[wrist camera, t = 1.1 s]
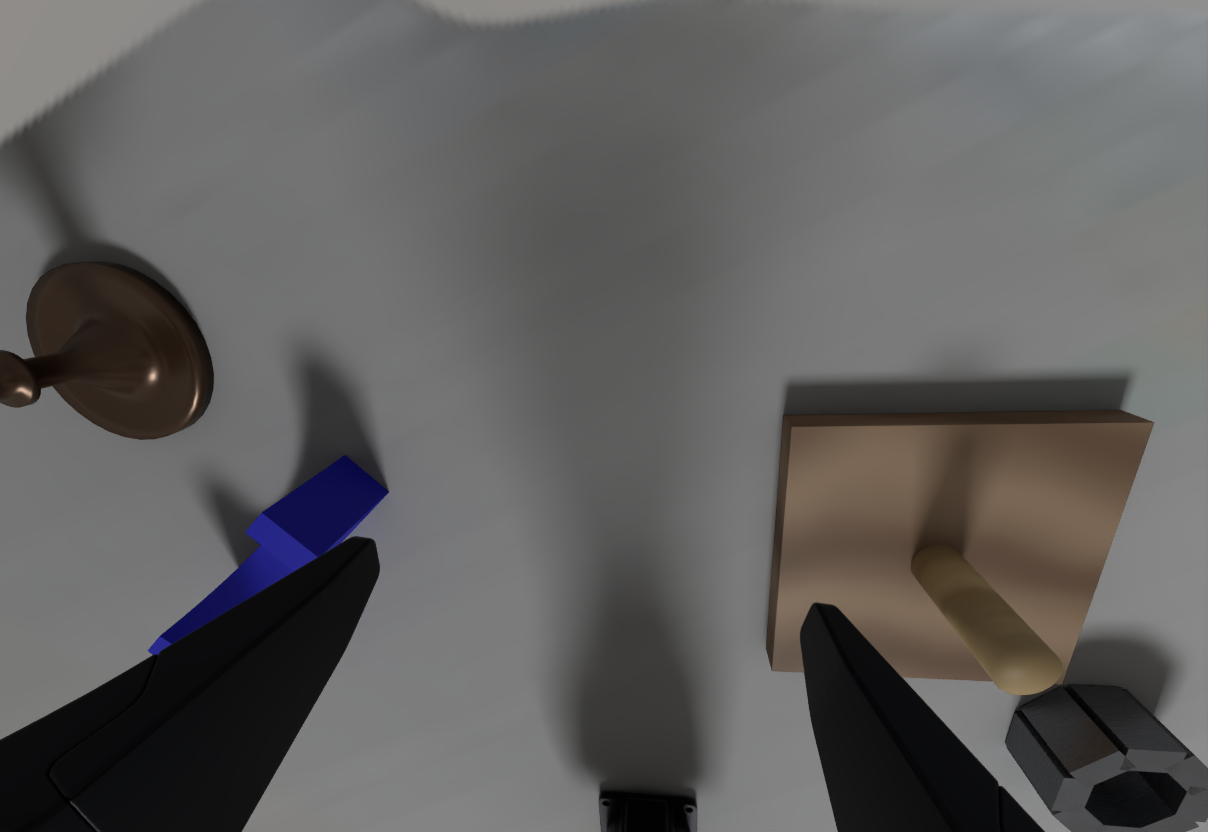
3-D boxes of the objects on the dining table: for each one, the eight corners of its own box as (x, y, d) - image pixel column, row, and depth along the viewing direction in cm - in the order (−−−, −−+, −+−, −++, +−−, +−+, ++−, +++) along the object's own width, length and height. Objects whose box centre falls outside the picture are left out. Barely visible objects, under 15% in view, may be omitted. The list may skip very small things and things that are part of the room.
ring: (1126, 778, 28) (1189, 850, 24) (996, 769, 28) (1040, 838, 25) (1166, 689, 25) (1242, 756, 22) (1024, 682, 26) (1076, 746, 23)
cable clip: (303, 618, 31) (223, 703, 25) (243, 573, 30) (147, 651, 24) (411, 508, 27) (346, 579, 21) (347, 453, 26) (261, 512, 20)
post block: (1039, 660, 25) (1183, 819, 18) (766, 648, 27) (802, 791, 20) (1121, 410, 21) (1355, 497, 14) (783, 415, 22) (839, 494, 15)
